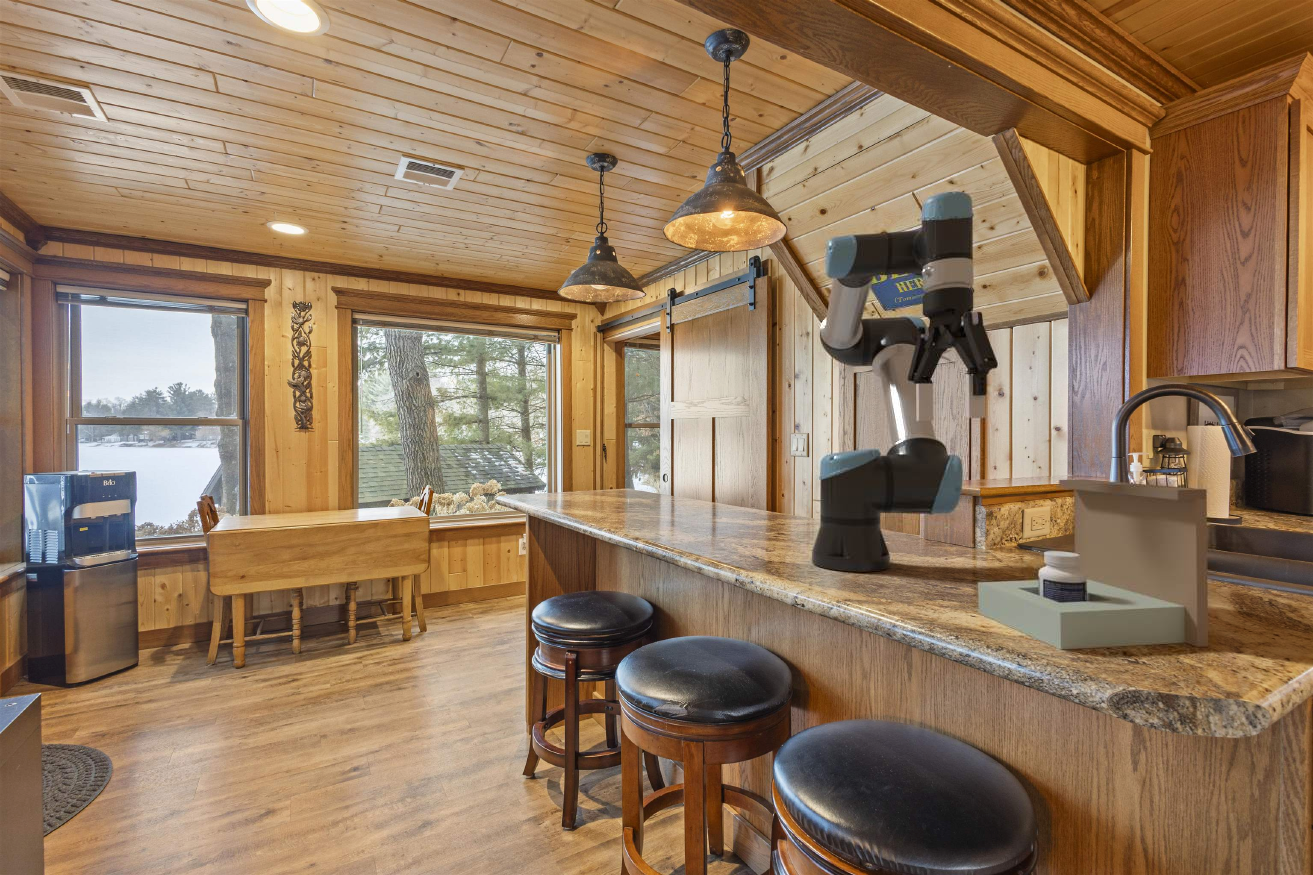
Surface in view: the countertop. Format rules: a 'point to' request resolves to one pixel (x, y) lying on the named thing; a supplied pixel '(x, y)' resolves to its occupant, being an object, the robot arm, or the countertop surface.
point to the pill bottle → (1062, 578)
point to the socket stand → (1121, 572)
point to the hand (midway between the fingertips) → (948, 419)
